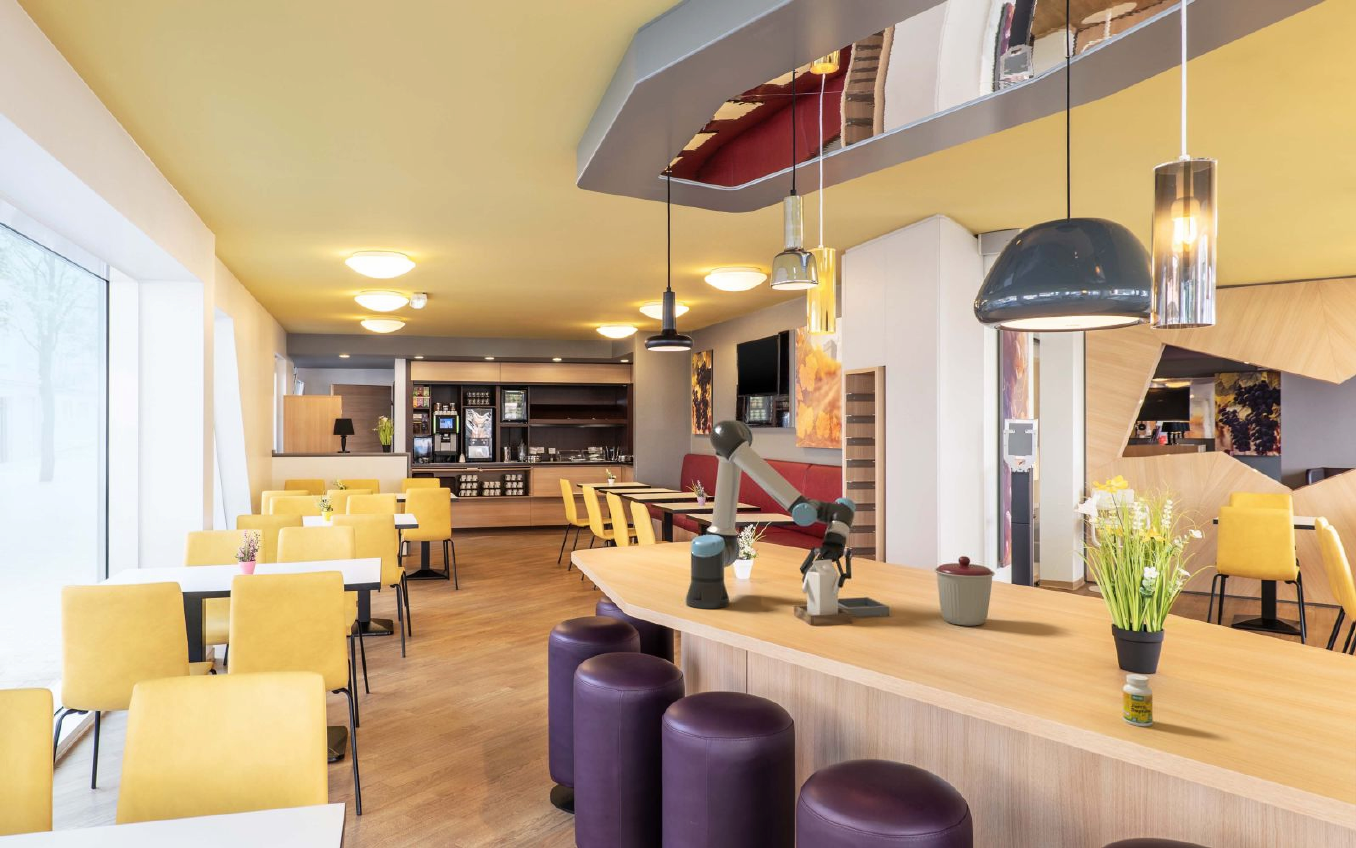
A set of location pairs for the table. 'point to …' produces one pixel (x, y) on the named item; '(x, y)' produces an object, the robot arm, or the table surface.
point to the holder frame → (823, 616)
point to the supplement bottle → (1137, 701)
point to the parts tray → (863, 607)
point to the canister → (964, 592)
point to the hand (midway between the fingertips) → (819, 593)
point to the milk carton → (821, 588)
